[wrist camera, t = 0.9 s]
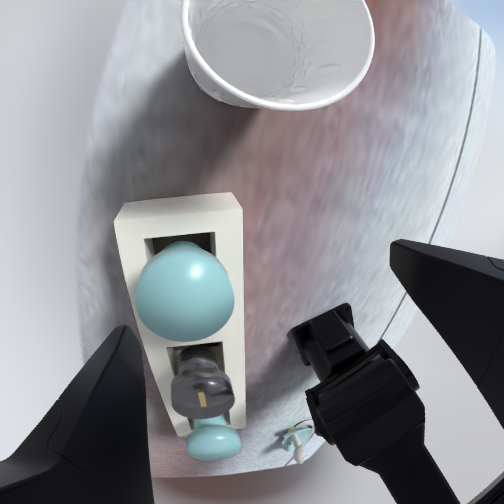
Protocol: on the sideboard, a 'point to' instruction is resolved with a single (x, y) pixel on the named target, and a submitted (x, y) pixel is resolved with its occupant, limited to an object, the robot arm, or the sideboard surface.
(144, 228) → the knob housing
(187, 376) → the pot dial
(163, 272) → the near knob
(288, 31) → the white cup
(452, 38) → the sideboard surface
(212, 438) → the far knob
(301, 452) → the pacifier
